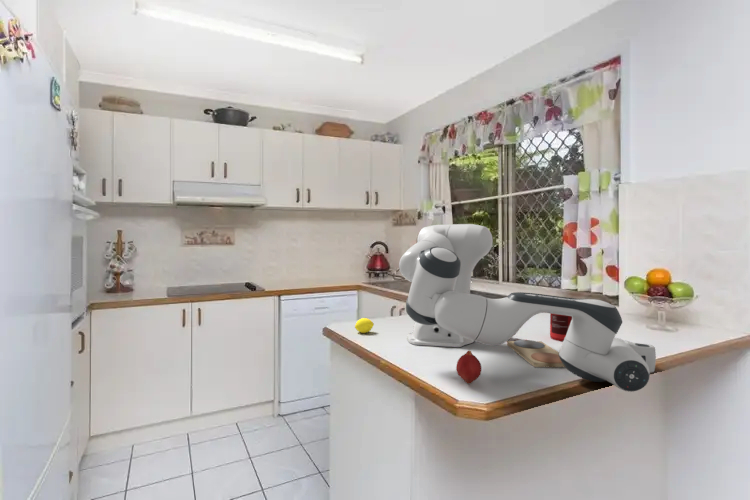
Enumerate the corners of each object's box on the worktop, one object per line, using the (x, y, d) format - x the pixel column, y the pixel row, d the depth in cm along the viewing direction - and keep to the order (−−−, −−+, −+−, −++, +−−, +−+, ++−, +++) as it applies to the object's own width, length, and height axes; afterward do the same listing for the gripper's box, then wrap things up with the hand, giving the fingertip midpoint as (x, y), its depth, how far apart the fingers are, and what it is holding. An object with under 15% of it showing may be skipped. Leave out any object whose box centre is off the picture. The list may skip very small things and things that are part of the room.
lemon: (356, 336, 143) (354, 321, 142) (355, 332, 148) (353, 318, 148) (375, 332, 144) (373, 318, 143) (373, 329, 149) (371, 315, 149)
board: (535, 367, 107) (535, 362, 107) (506, 344, 130) (506, 339, 130) (576, 367, 107) (576, 362, 107) (540, 344, 130) (540, 340, 130)
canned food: (569, 336, 141) (569, 305, 141) (578, 342, 133) (579, 309, 133) (546, 335, 142) (547, 304, 142) (554, 341, 134) (555, 308, 134)
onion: (453, 379, 98) (453, 347, 98) (476, 378, 99) (476, 346, 99) (460, 388, 93) (460, 354, 92) (484, 387, 93) (485, 353, 93)
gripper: (569, 363, 106) (564, 350, 119) (661, 373, 99) (645, 357, 112) (570, 340, 105) (564, 328, 118) (662, 347, 98) (645, 334, 111)
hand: (604, 342), depth 115 cm, fingers open, 8 cm apart
